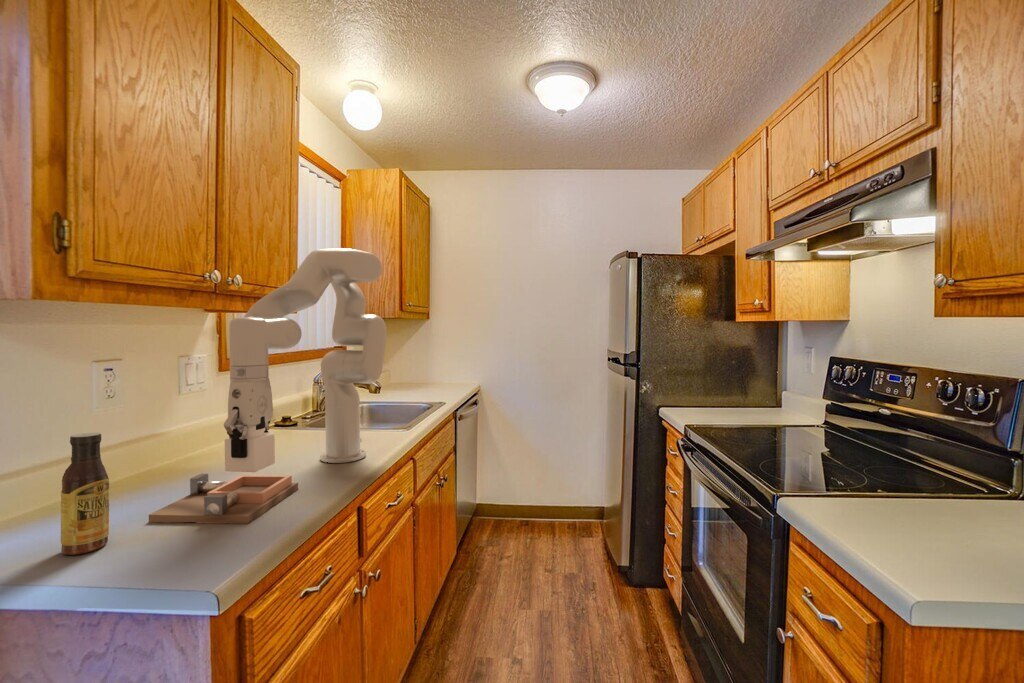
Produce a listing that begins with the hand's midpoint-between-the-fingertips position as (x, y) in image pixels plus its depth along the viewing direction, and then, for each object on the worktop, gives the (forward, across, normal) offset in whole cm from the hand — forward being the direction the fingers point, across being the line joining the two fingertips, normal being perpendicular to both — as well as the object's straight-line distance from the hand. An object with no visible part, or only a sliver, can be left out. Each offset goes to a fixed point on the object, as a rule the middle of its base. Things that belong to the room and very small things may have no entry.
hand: (250, 452), depth 105 cm
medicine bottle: (+4, 0, 0) cm, 4 cm away
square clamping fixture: (+11, -3, +3) cm, 11 cm away
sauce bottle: (+11, -24, +15) cm, 30 cm away
